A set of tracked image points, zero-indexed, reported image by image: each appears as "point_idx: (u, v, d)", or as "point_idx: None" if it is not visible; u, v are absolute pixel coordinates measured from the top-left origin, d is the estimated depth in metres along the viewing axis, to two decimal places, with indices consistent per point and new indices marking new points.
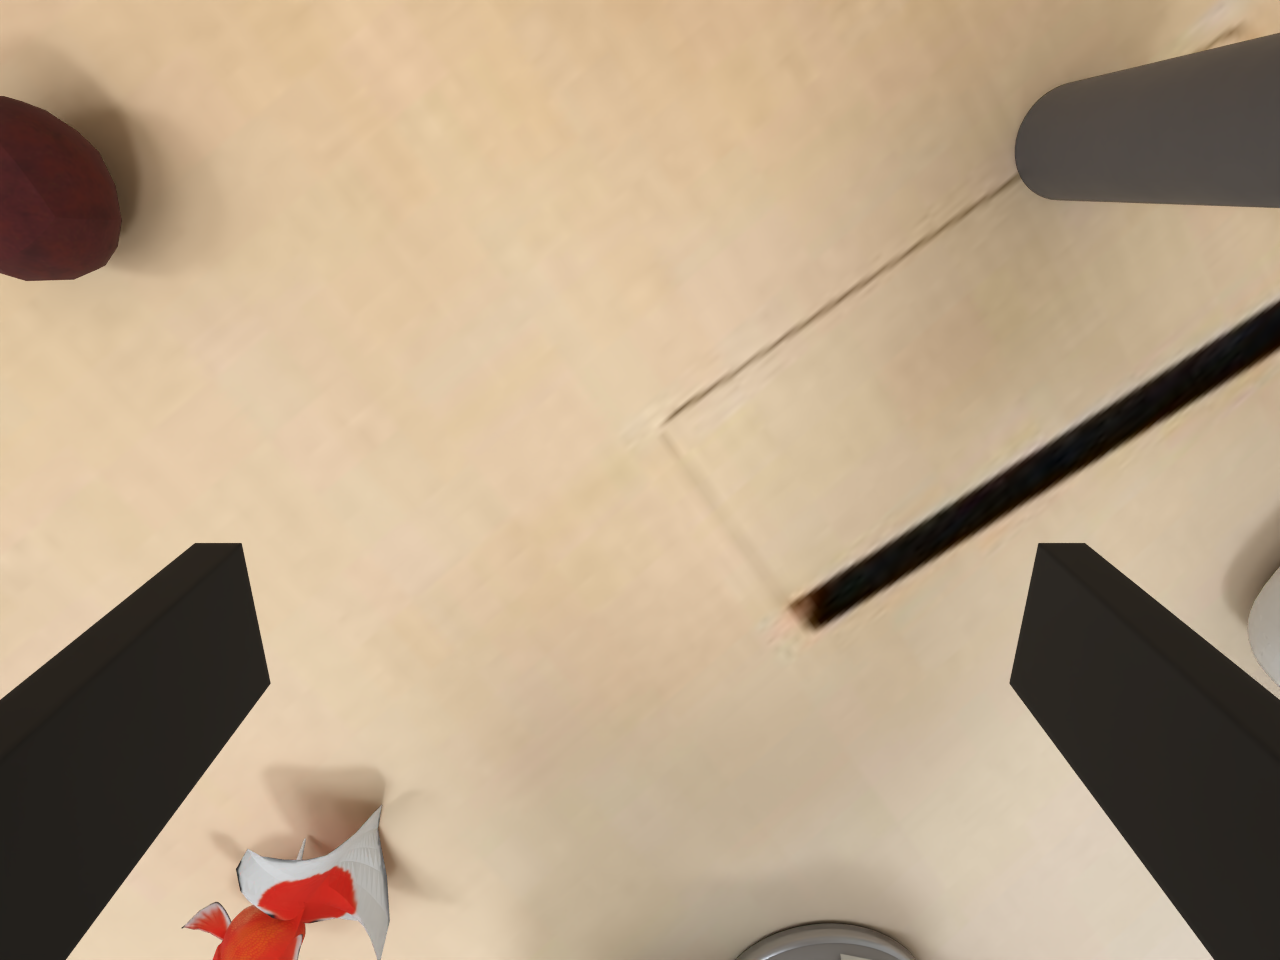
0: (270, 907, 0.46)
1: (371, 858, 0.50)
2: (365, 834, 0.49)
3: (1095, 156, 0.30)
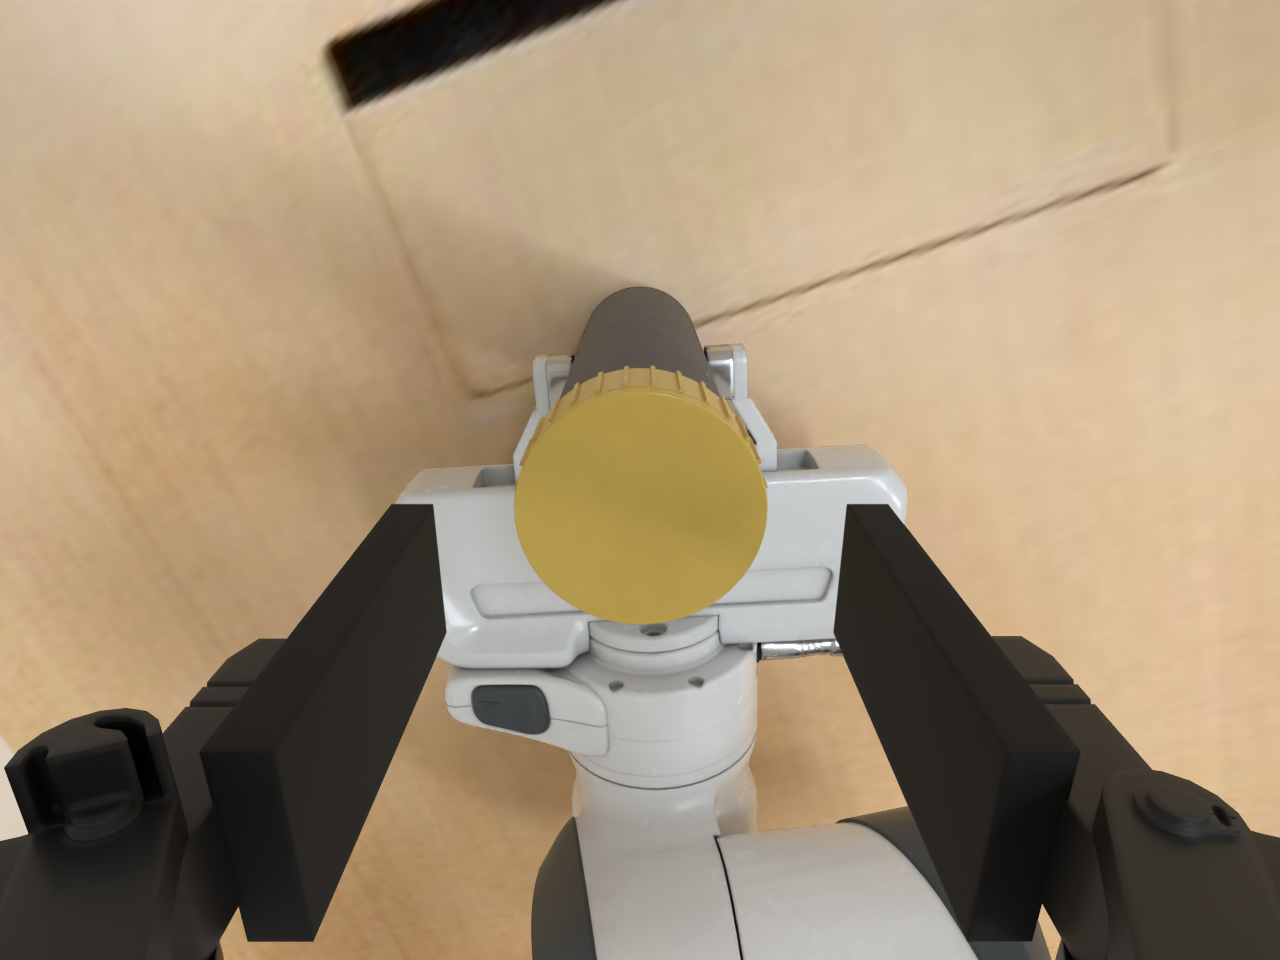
0: None
1: None
2: None
3: None
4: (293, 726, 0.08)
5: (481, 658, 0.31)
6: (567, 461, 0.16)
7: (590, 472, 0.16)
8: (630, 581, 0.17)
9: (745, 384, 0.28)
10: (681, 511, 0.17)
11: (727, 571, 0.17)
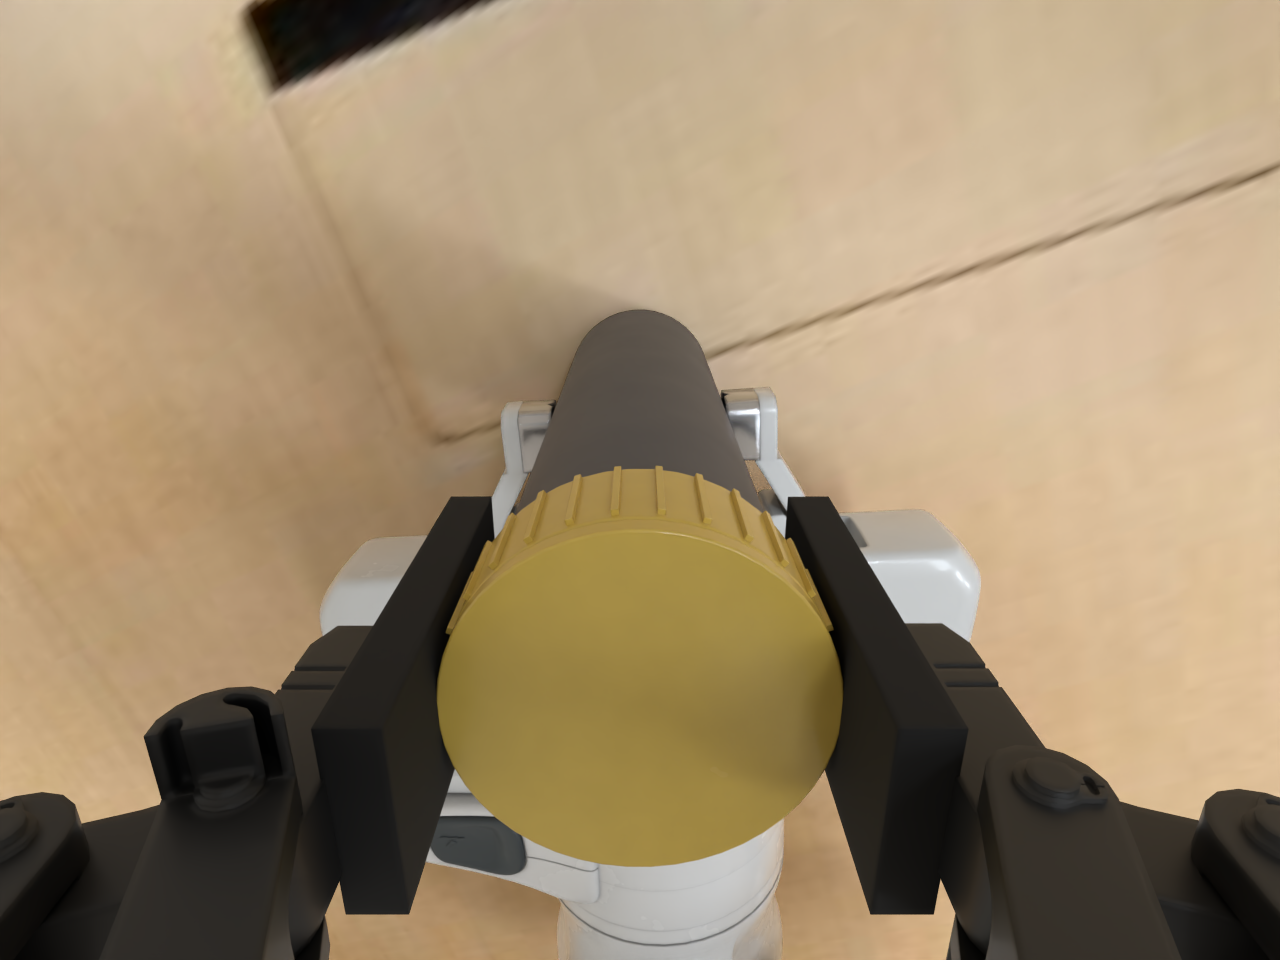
0: None
1: None
2: None
3: None
4: (394, 706, 0.09)
5: None
6: (520, 636, 0.10)
7: (558, 652, 0.10)
8: (623, 808, 0.11)
9: (775, 441, 0.22)
10: (705, 709, 0.10)
11: (777, 795, 0.11)
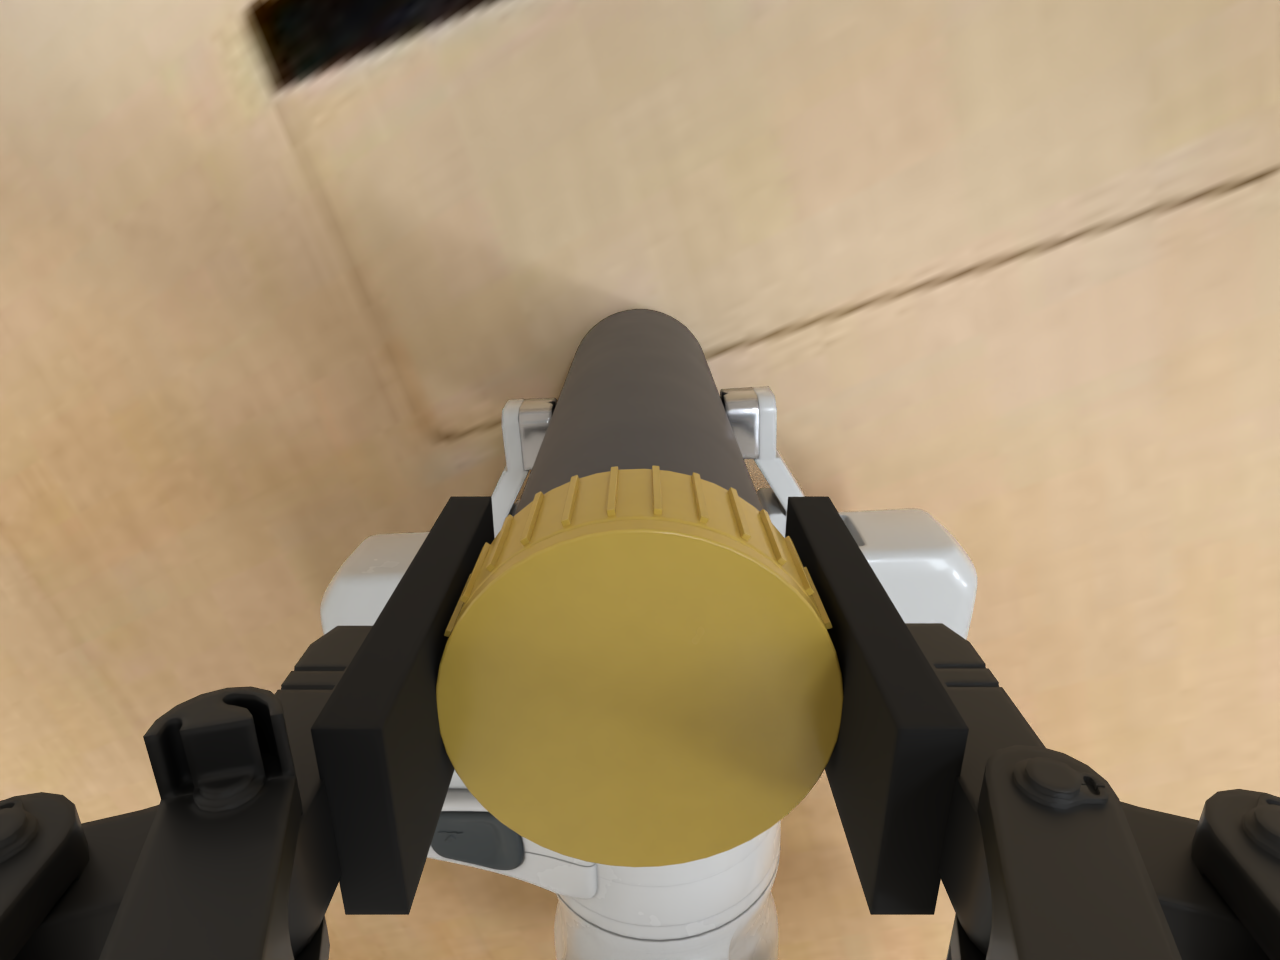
0: None
1: None
2: None
3: None
4: (394, 705, 0.09)
5: None
6: (573, 815, 0.11)
7: (583, 787, 0.11)
8: (760, 711, 0.10)
9: (774, 440, 0.22)
10: (620, 662, 0.10)
11: (719, 574, 0.10)
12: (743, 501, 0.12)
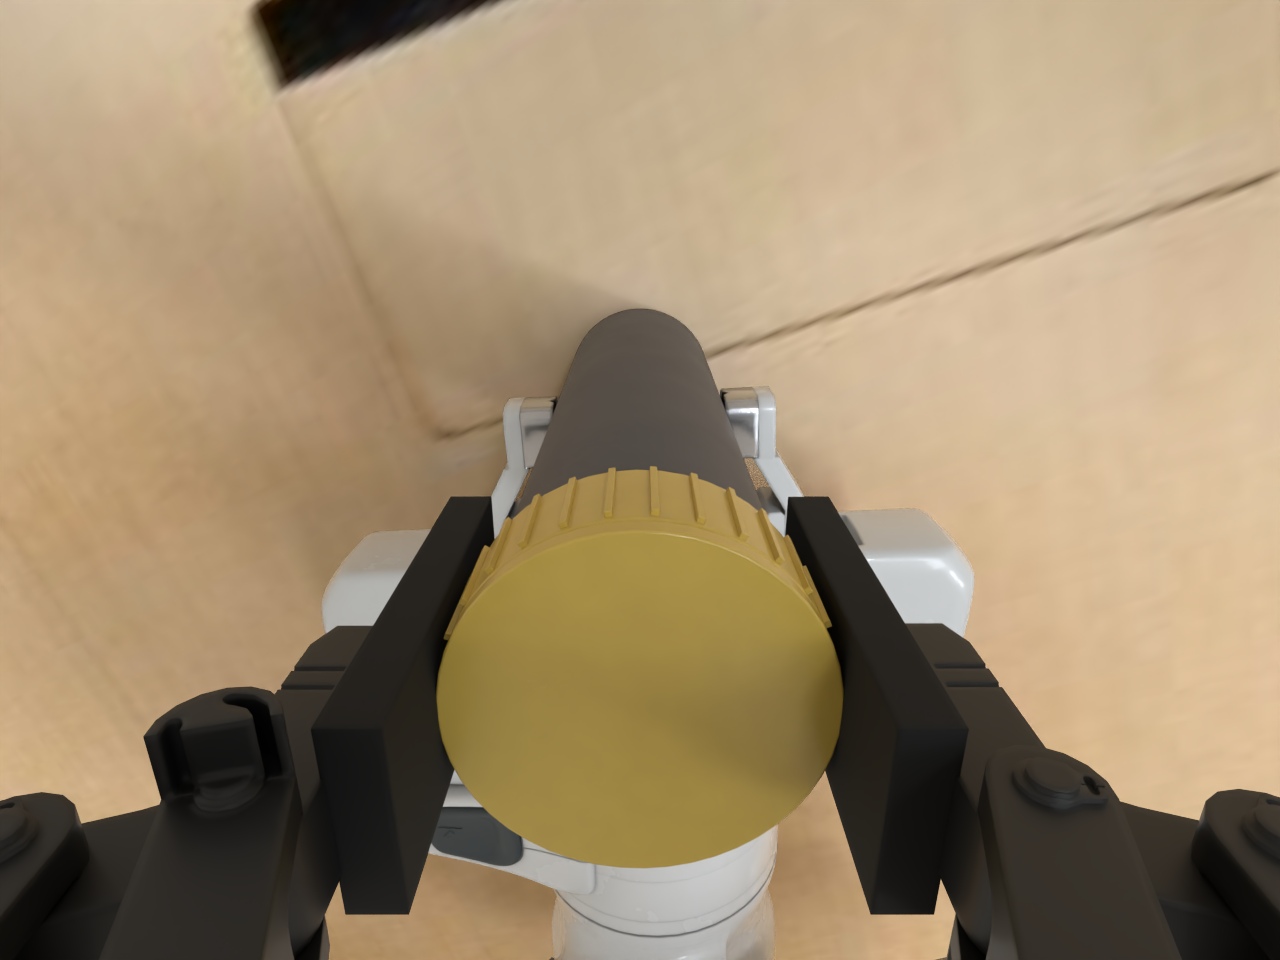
0: None
1: None
2: None
3: None
4: (394, 706, 0.09)
5: None
6: (776, 753, 0.11)
7: (737, 749, 0.11)
8: (613, 613, 0.10)
9: (773, 440, 0.22)
10: (582, 740, 0.11)
11: (466, 679, 0.10)
12: None
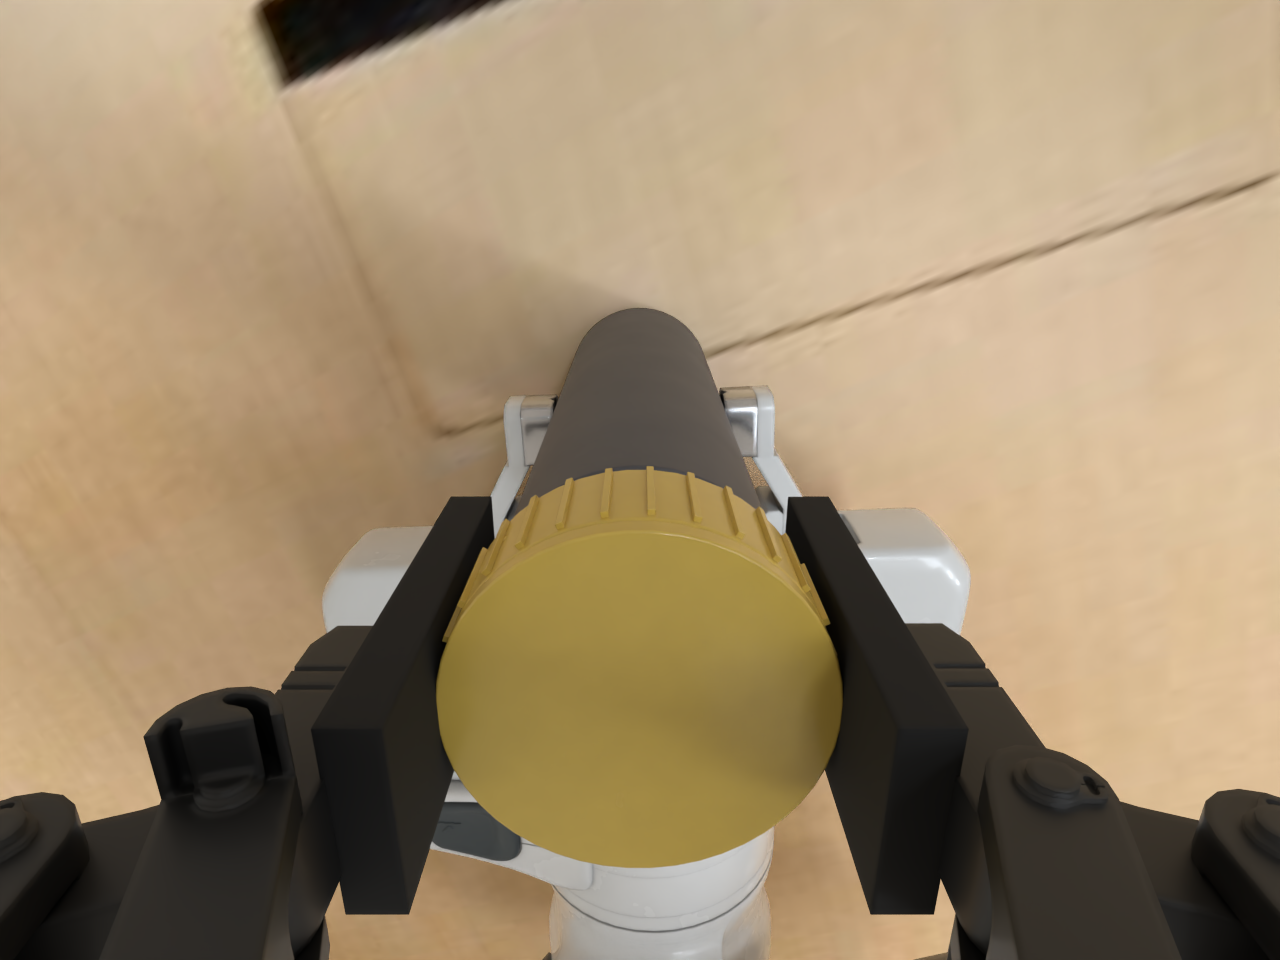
0: None
1: None
2: None
3: None
4: (395, 706, 0.09)
5: None
6: (662, 587, 0.10)
7: (663, 625, 0.10)
8: (529, 753, 0.11)
9: (772, 438, 0.22)
10: (677, 758, 0.11)
11: (626, 849, 0.11)
12: None
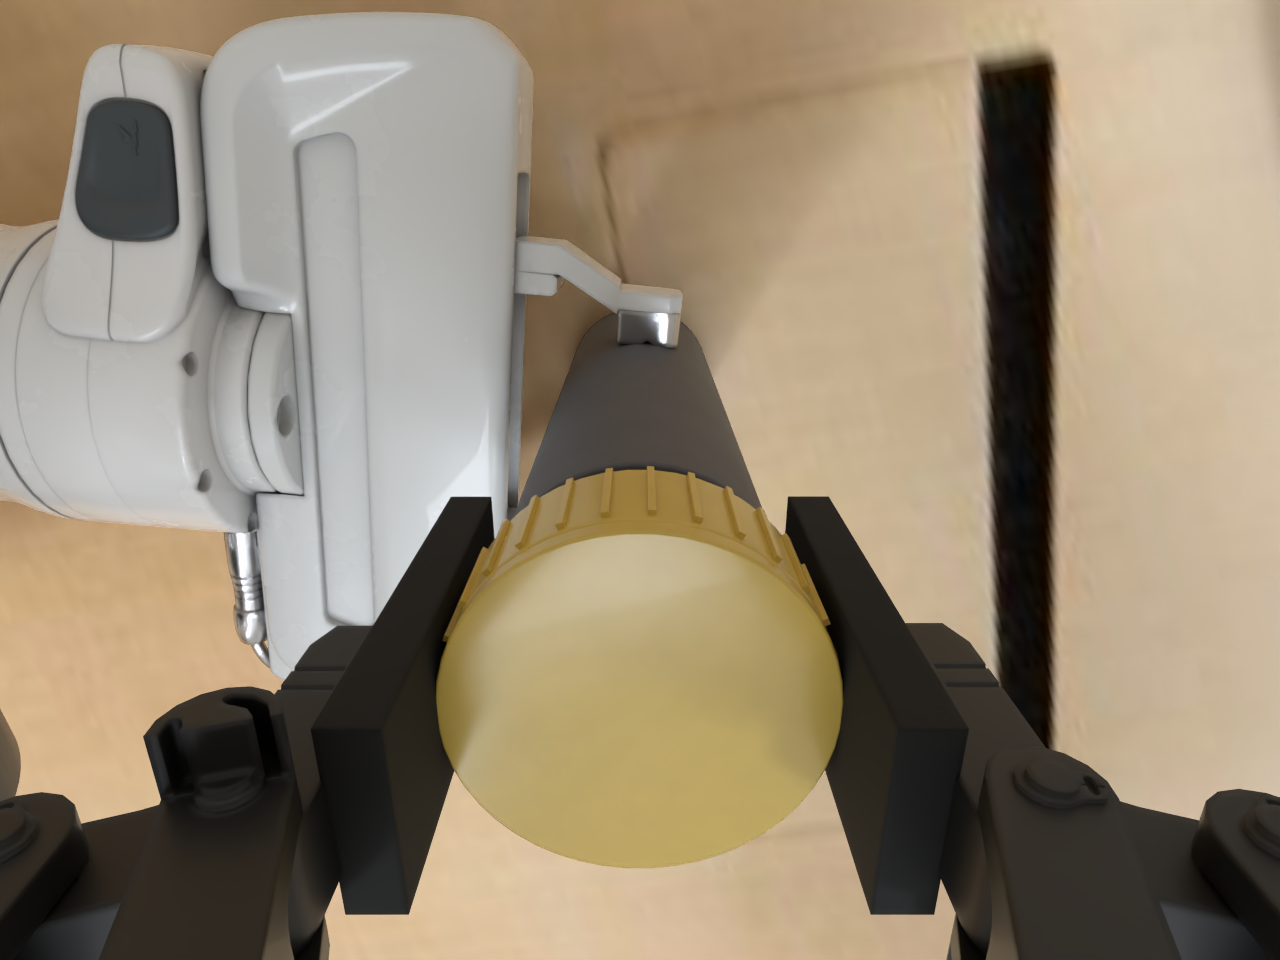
0: None
1: None
2: None
3: None
4: (395, 706, 0.09)
5: (223, 133, 0.18)
6: (662, 587, 0.10)
7: (663, 625, 0.10)
8: (529, 753, 0.11)
9: None
10: (677, 758, 0.11)
11: (625, 849, 0.11)
12: None
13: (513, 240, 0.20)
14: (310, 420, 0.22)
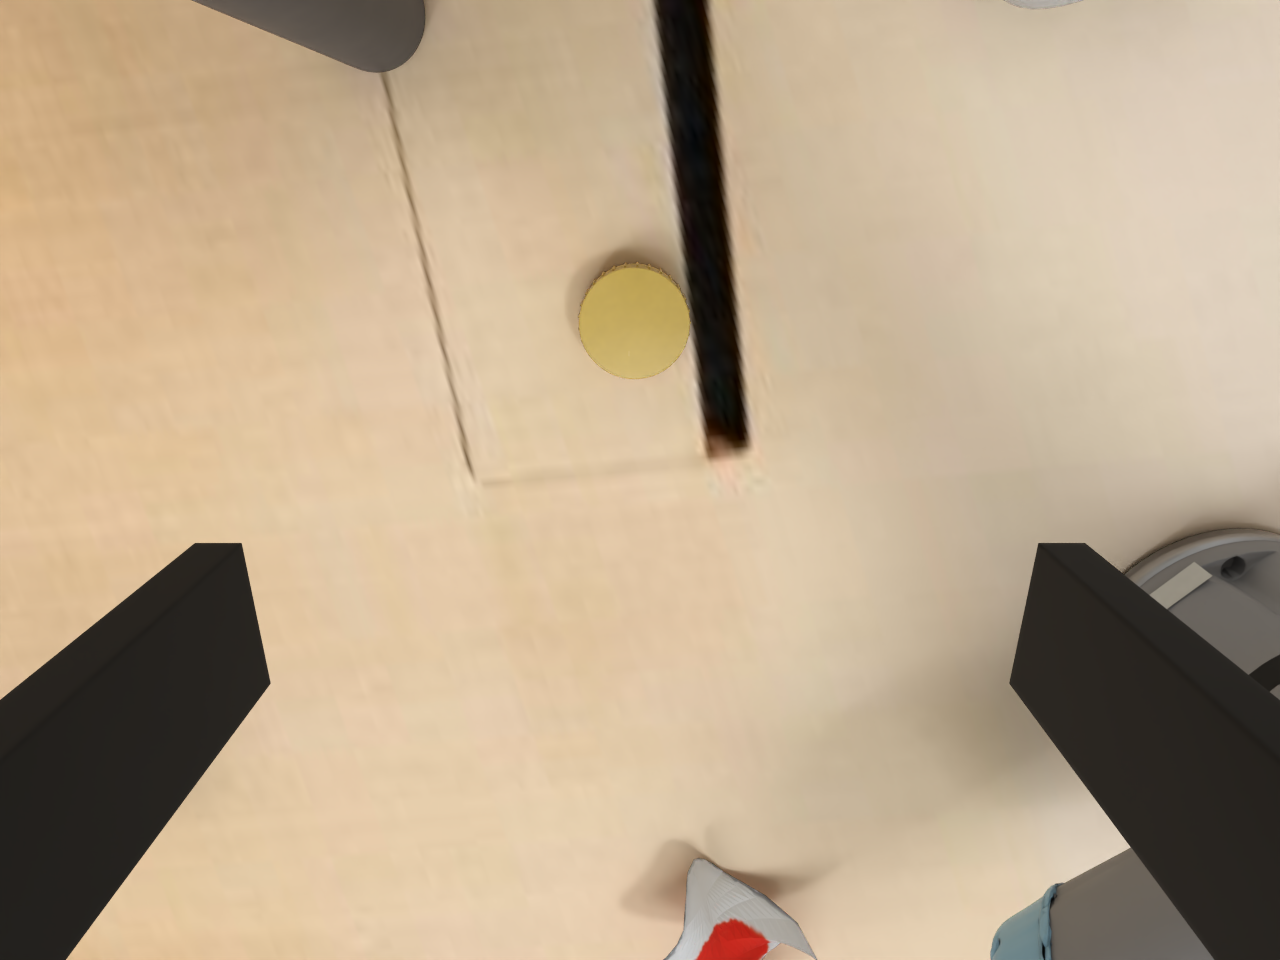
0: None
1: (740, 895, 0.53)
2: (714, 885, 0.53)
3: (309, 47, 0.30)
4: None
5: None
6: (640, 284, 0.38)
7: (640, 295, 0.38)
8: (604, 337, 0.39)
9: None
10: (644, 339, 0.39)
11: (630, 371, 0.39)
12: None
13: None
14: None
